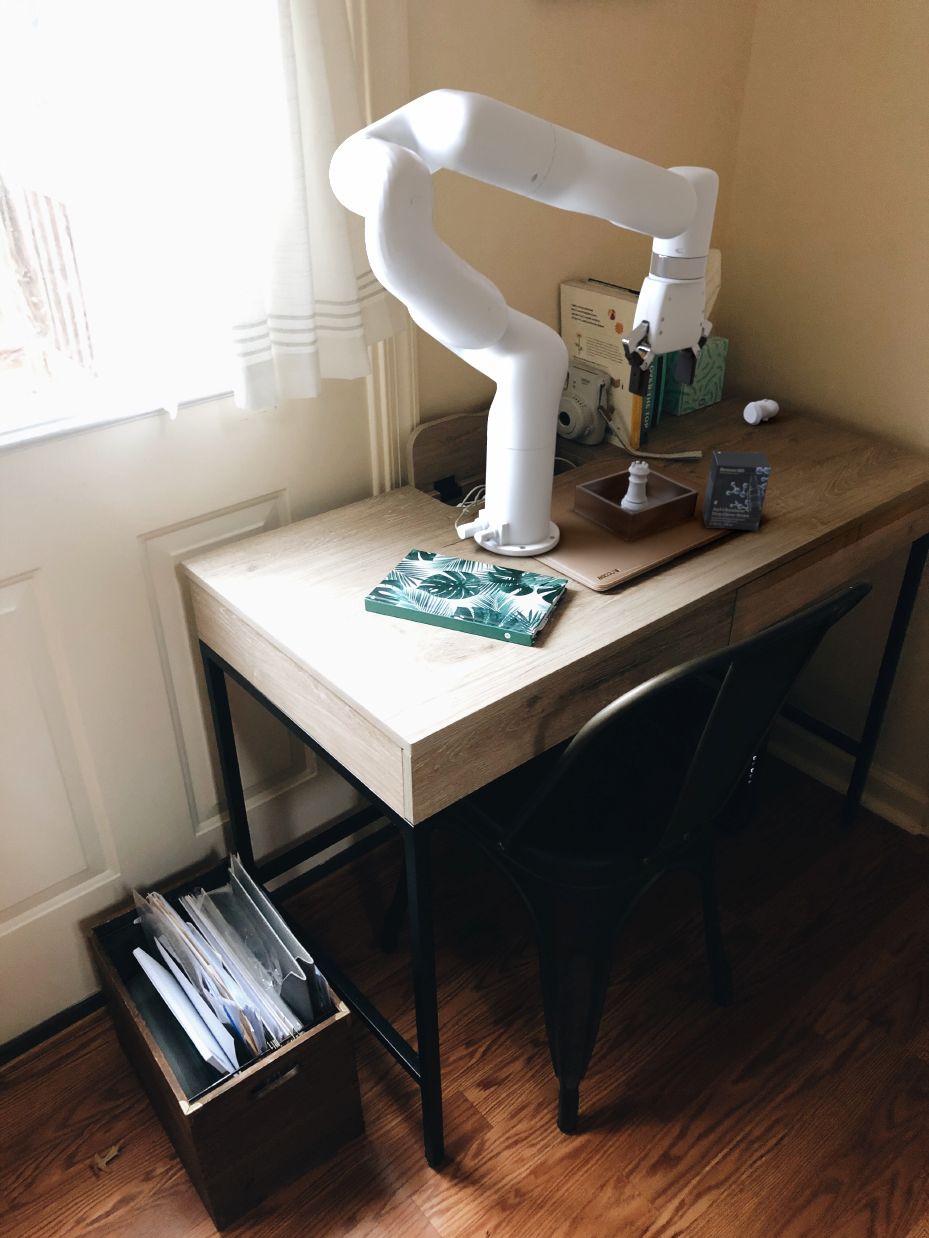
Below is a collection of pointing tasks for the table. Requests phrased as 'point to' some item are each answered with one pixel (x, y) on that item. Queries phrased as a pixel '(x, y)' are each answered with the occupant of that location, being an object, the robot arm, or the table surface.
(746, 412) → the smooth white sculpture
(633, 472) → the rook chess piece
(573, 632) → the table surface
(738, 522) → the box
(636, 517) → the tray
